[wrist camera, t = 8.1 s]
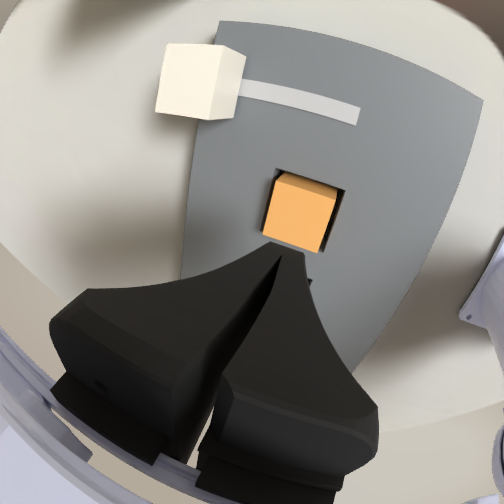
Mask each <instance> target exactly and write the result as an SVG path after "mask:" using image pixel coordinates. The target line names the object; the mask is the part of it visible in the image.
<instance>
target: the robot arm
mask: <svg viewBox="0 0 504 504" xmlns="http://www.w3.org/2000/svg"><path fill="white" fill-rule="evenodd" d="M305 257H306V256H305V254H304V253H303V252H300V251H297V250H294V249H292V248H289V247H286V246H283V245H280V244H277V243H274V242H271V241H270V242H268V243H266V244H264V245H262V246H261V247H259V248H257V249H256V250H254V251H252V252H250V253H249V254H247V255H245V256H243V257H241V258H239V259H237V260H235V261H233V262H231V263H229V264H226V265H224V266H222V267H220V268H217V269H215V270H212V271H209V272H207V273H203V274H200V275H197V276H194V277H190V278H186V279H181V280H177V281H172V282H168V283H163V284H157V285H150V286H141V287H131V288H106V289H86V290H85V291H84V292H82V293H81V294H80V295H79V296H78V297H76V298H75V299H74V300H73V301H72V302H70V303H69V304H68V305H67V306H66V307H64V308H63V309H62V310H61V311H60V312H59V313H58V314H56V316H54V317H53V318H52V319H51V321H50V323H49V331H50V336H51V339H52V342H53V344H54V347H55V349H56V351H57V353H58V355H59V357H60V359H61V361H62V363H63V365H64V367H65V369H66V372H65V374H64V375H63V376H62V377H61V378H60V379H59V380H58V381H57V382H56V381H54V380H53V379H52V378H51V377H50V376H49V375H47V374H46V372H44V371H43V370H42V369H41V368H40V367H39V366H38V365H37V364H36V363H35V362H34V361H33V360H32V359H31V358H30V357H29V356H27V355H26V353H25V352H24V351H23V350H22V349H21V348H20V347H19V346H18V345H17V344H16V343H15V342H14V341H13V340H12V339H11V338H10V336H9V335H8V334H7V333H6V332H5V331H4V330H3V328H1V326H0V504H153V503H151V502H149V501H147V500H145V499H143V498H141V497H140V496H138V495H136V494H134V493H132V492H131V491H129V490H127V489H125V488H124V487H122V486H121V485H119V484H117V483H116V482H114V481H112V480H111V479H110V478H108V477H106V476H105V475H103V474H102V473H100V472H99V471H97V470H96V469H95V468H93V467H92V466H90V465H89V464H88V463H87V462H88V460H89V459H90V458H91V456H92V455H93V454H92V452H91V451H90V450H89V449H88V448H87V447H86V446H84V445H83V444H82V443H81V442H80V441H79V440H78V439H77V437H76V436H75V435H74V434H73V433H72V432H71V430H70V429H69V428H68V427H67V426H66V425H65V424H64V423H63V422H62V421H61V420H60V419H59V418H58V417H57V416H56V415H54V414H53V413H52V411H51V408H52V409H53V410H54V411H56V412H57V413H58V414H59V415H60V416H61V417H63V418H64V419H65V420H66V421H68V422H69V423H70V424H71V425H72V426H74V427H75V428H76V429H77V430H79V431H80V432H81V433H83V434H84V435H85V436H87V437H88V438H89V439H91V440H92V441H94V442H95V443H96V444H98V445H99V446H101V447H102V448H104V449H105V450H107V451H108V452H110V453H111V454H113V455H114V456H116V457H117V458H119V459H121V460H122V461H124V462H125V463H127V464H129V465H130V466H132V467H134V468H135V469H137V470H139V471H141V472H143V473H144V474H146V475H148V476H150V477H152V478H154V479H155V480H157V481H159V482H161V483H163V484H165V485H167V486H170V487H172V488H174V489H176V490H178V491H180V492H182V493H185V494H187V495H189V496H192V497H194V498H197V499H199V500H202V501H204V502H207V503H209V504H333V502H334V497H335V494H336V491H337V492H338V491H340V490H341V489H342V486H343V481H344V476H345V475H347V474H349V473H351V472H353V471H354V470H356V469H358V468H360V467H362V466H363V465H365V464H366V463H368V462H369V461H370V460H371V459H373V458H374V457H375V455H376V452H377V449H378V439H379V438H378V437H379V420H378V407H377V405H376V404H375V403H374V401H373V400H372V399H371V398H370V397H369V395H368V394H367V393H366V392H365V391H364V390H363V388H362V387H361V386H360V385H359V384H358V382H357V381H356V380H355V379H354V377H353V376H352V374H351V373H350V372H349V370H348V369H347V367H346V366H345V364H344V363H343V362H342V360H341V358H340V357H339V355H338V353H337V352H336V350H335V348H334V347H333V345H332V343H331V341H330V340H329V338H328V336H327V334H326V332H325V329H324V327H323V325H322V323H321V320H320V318H319V315H318V313H317V310H316V307H315V304H314V301H313V298H312V294H311V291H310V286H309V282H308V278H307V272H306V264H305ZM458 315H459V318H460V320H462V321H465V322H468V323H471V324H473V325H476V326H479V327H482V328H484V329H487V331H488V333H489V336H490V338H491V341H492V343H493V346H494V349H495V351H496V354H497V357H498V360H499V362H500V365H501V368H502V371H503V375H504V235H503V237H502V239H501V241H500V243H499V245H498V247H497V249H496V251H495V253H494V255H493V257H492V259H491V261H490V263H489V264H488V266H487V268H486V270H485V272H484V273H483V275H482V277H481V278H480V280H479V282H478V283H477V285H476V287H475V288H474V290H473V291H472V293H471V295H470V296H469V298H468V299H467V301H466V302H465V304H464V305H463V307H462V308H461V310H460V311H459V314H458ZM468 315H470V316H468ZM467 316H468V317H467ZM213 407H214V410H213V414H212V419H211V423H210V426H209V428H208V430H207V432H206V433H205V436H204V437H203V439H202V441H201V443H200V445H199V447H198V451H199V454H198V461H197V466H196V469H195V468H192V467H190V466H188V465H186V464H187V462H188V459H189V458H190V456H191V453H192V451H193V449H194V447H195V445H196V443H197V441H198V439H199V436H200V435H201V432H202V430H203V428H204V426H205V424H206V422H207V420H208V418H209V416H210V413H211V411H212V409H213ZM503 412H504V408H503ZM492 473H493V478H494V481H495V484H496V487H497V489H498V490H499V492H500V493H501V494H502V495H503V497H504V424H503V425H502V426H501V428H500V429H499V430H498V433H497V435H496V438H495V441H494V446H493V454H492ZM463 504H499V494H493V495H489V496H484V497H479V498H476V499H473V500H470V501H467V502H465V503H463Z"/></svg>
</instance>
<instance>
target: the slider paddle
mask: <svg viewBox="0 0 504 504" xmlns="http://www.w3.org/2000/svg"><path fill="white" fill-rule="evenodd" d="M245 61H246V56H244V55H242V54H240V53H238V52H236V51H234V50H232V49H230V48H228V47H226V46H224V45H209V44H167V47H166V51H165V56H164V61H163V66H162V72H161V77H160V83H159V89H158V95H157V102H156V109H155V112H159V113H166V114H174V115H180V116H187V117H193V118H199V119H205V120H215V119H227V118H233V117H234V112H235V107H236V102H237V97H238V93H239V88H240V83H241V79H242V74H243V70H244V65H245Z"/></svg>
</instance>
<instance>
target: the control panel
mask: <svg viewBox="0 0 504 504" xmlns="http://www.w3.org/2000/svg"><path fill="white" fill-rule="evenodd" d="M214 45H224V46H226V47H228V48H230V49H232V50H234V51H236V52H238V53H240V54H242V55H244V56H246V61H245V65H244V70H243V74H242V79H241V83H240V88H239V93H238V97H237V102H236V107H235V112H234V117H233V118H227V119H215V120H205V119H199V122H198V128H197V134H196V141H195V147H194V154H193V161H192V168H191V176H190V184H189V192H188V200H187V209H186V219H185V229H184V240H183V252H182V265H181V279H186V278H190V277H194V276H197V275H200V274H203V273H207V272H209V271H212V270H215V269H217V268H220V267H222V266H224V265H226V264H229V263H231V262H233V261H235V260H237V259H239V258H241V257H243V256H245V255H247V254H249V253H250V252H252V251H254V250H256V249H257V248H259V247H261V246H262V245H264V244H266V243H268V242H270V241H271V242H274V243H277V244H280V245H283V246H286V247H289V248H292V249H294V250H297V251H300V252H303V253H304V254H305V256H306V257H305V264H306V272H307V278H309V279H311V280H310V282H309V286H310V291H311V294H312V298H313V301H314V304H315V307H316V310H317V313H318V315H319V318H320V320H321V323H322V325H323V327H324V329H325V332H326V334H327V336H328V338H329V340H330V341H331V343H332V345H333V347H334V348H335V350H336V352H337V353H338V355H339V357H340V358H341V360H342V362H343V363H344V364H345V366H346V367H347V369H348V370H349V372H350V373H352V372H353V371H354V370H355V368H356V367H357V366H358V364H359V363H360V362H361V360H362V359H363V358H364V356H365V355H366V354H367V352H368V351H369V349H370V348H371V347H372V345H373V344H374V342H375V341H376V339H377V338H378V337H379V335H380V334H381V332H382V331H383V329H384V328H385V326H386V325H387V323H388V322H389V320H390V319H391V317H392V316H393V314H394V312H395V311H396V309H397V308H398V306H399V304H400V303H401V301H402V299H403V298H404V296H405V294H406V293H407V291H408V289H409V288H410V286H411V284H412V282H413V281H414V279H415V277H416V275H417V273H418V272H419V270H420V268H421V266H422V264H423V262H424V260H425V259H426V257H427V255H428V253H429V251H430V249H431V247H432V245H433V243H434V241H435V239H436V236H437V234H438V232H439V230H440V228H441V226H442V224H443V221H444V219H445V217H446V214H447V212H448V210H449V207H450V205H451V203H452V200H453V198H454V195H455V193H456V190H457V188H458V185H459V182H460V180H461V177H462V174H463V171H464V168H465V166H466V163H467V160H468V156H469V153H470V150H471V147H472V144H473V140H474V137H475V133H476V130H477V126H478V122H479V118H480V114H481V110H482V105H483V101H484V100H482V99H481V98H479V97H477V96H476V95H474V94H472V93H471V92H469V91H467V90H466V89H464V88H462V87H460V86H459V85H457V84H455V83H453V82H451V81H449V80H447V79H445V78H443V77H442V76H440V75H438V74H435V73H433V72H431V71H429V70H427V69H425V68H423V67H421V66H418V65H416V64H414V63H411V62H409V61H407V60H404V59H402V58H399V57H397V56H394V55H391V54H389V53H386V52H383V51H380V50H377V49H374V48H371V47H368V46H365V45H362V44H359V43H356V42H352V41H349V40H345V39H341V38H337V37H333V36H329V35H325V34H321V33H316V32H311V31H306V30H301V29H296V28H290V27H283V26H276V25H269V24H260V23H249V22H235V21H219V25H218V29H217V33H216V37H215V42H214ZM281 169H282V170H285V171H288V172H292V173H295V174H298V175H301V176H304V177H308V178H311V179H314V180H317V181H320V182H323V183H326V184H329V185H332V186H335V187H337V188H340V189H343V192H342V195H341V198H340V201H339V204H338V207H337V210H336V213H335V216H334V218H333V221H332V224H331V227H330V230H329V232H328V235H327V238H326V239H325V238H323V239H322V241H321V244H320V247H319V250H318V252H317V253H315V252H312V251H309V250H306V249H303V248H300V247H298V246H295V245H292V244H289V243H286V242H283V241H280V240H277V239H274V238H271V237H269V236H266V235H263V230H264V226H265V222H266V218H267V214H268V210H269V206H270V202H271V198H272V194H273V190H274V186H275V182H276V180H277V179H278V178H279V175H280V171H281ZM181 279H180V280H181Z"/></svg>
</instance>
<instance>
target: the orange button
mask: <svg viewBox="0 0 504 504" xmlns="http://www.w3.org/2000/svg"><path fill="white" fill-rule="evenodd" d="M336 195H337V188H335V187H332V186H330V185H327V184H324V183H321V182H318V181H315V180H312V179H308V178H305V177H302V176H299V175H296V174H293V173H289V172H285V173H284V174H282V175H281V176H280V177H279V178H278V179H277V180H276V182H275V186H274V190H273V194H272V198H271V202H270V206H269V210H268V214H267V218H266V222H265V226H264V230H263V235H266V236H269V237H271V238H274V239H277V240H280V241H283V242H286V243H289V244H292V245H295V246H298V247H300V248H303V249H306V250H309V251H312V252H315V253H317V252H318V250H319V247H320V244H321V241H322V239H323V236H324V233H325V230H326V227H327V225H328V222H329V219H330V216H331V213H332V210H333V207H334V204H335V201H336Z"/></svg>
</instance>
